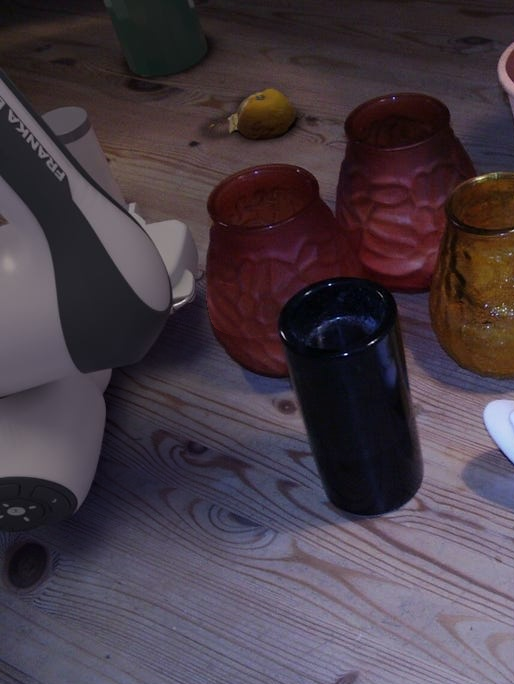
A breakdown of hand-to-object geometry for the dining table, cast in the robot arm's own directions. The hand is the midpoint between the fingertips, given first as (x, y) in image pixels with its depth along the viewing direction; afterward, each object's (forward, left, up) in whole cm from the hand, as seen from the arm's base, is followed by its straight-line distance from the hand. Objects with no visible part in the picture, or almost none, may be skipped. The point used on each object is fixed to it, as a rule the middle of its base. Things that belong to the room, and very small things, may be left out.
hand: (73, 220), depth 81 cm
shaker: (-1, +7, -6) cm, 9 cm away
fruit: (+11, +22, -6) cm, 25 cm away
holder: (-1, +37, -6) cm, 38 cm away
